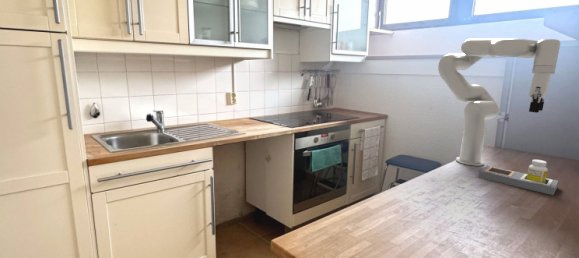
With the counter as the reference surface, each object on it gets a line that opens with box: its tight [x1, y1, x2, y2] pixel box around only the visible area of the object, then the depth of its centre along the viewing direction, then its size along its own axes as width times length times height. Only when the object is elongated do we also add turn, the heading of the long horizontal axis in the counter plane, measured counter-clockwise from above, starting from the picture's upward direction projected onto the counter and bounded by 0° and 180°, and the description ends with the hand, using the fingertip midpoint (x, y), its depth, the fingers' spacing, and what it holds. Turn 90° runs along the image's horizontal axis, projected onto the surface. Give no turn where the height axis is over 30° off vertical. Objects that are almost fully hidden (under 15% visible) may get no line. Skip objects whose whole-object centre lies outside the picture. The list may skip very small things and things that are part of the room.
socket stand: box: [478, 165, 559, 196], centre depth 136 cm, size 12×26×3 cm, turn 45°
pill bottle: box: [526, 159, 549, 184], centre depth 131 cm, size 6×6×11 cm
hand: (535, 111), depth 136 cm, fingers open, 9 cm apart
